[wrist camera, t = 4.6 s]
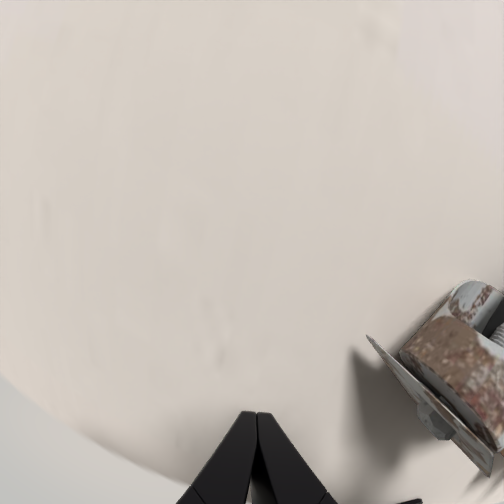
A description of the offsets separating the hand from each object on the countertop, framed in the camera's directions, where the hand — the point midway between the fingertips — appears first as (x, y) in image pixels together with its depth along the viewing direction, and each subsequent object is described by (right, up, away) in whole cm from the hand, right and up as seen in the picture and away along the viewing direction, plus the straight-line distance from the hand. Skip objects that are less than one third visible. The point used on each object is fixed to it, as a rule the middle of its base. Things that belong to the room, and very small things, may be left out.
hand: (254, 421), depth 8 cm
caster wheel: (+11, +1, +4) cm, 12 cm away
